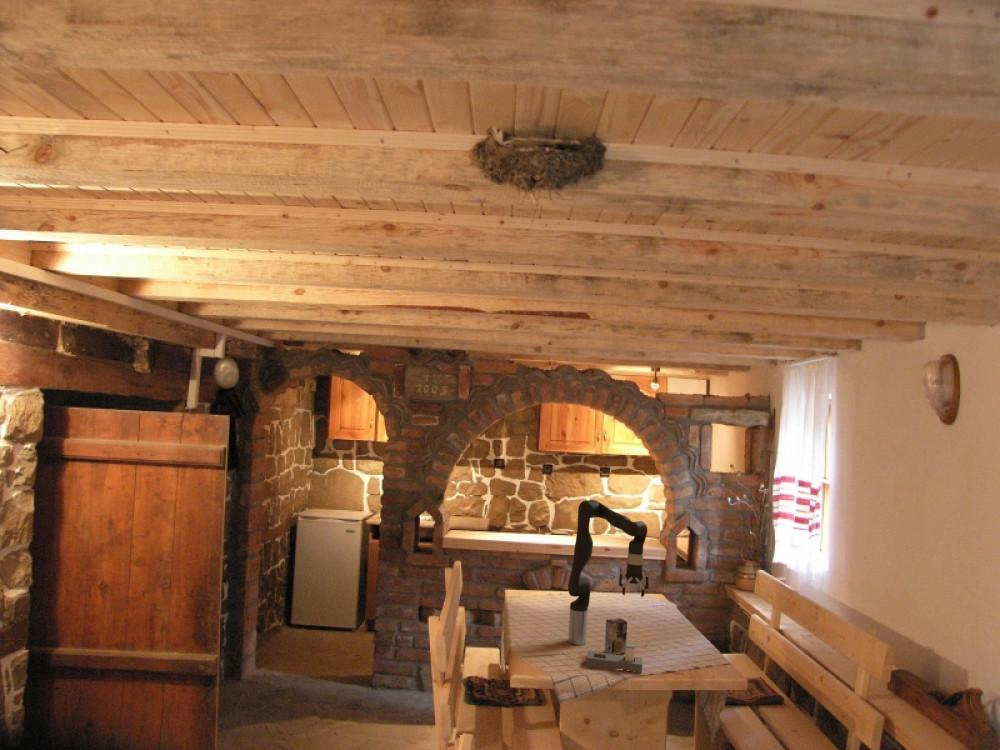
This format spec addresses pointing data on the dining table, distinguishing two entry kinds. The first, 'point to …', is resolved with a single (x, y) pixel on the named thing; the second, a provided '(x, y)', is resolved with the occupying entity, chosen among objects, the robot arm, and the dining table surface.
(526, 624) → the dining table surface
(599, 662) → the jack board
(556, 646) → the dining table surface
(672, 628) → the dining table surface
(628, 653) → the plug
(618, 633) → the coffee box
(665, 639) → the dining table surface
